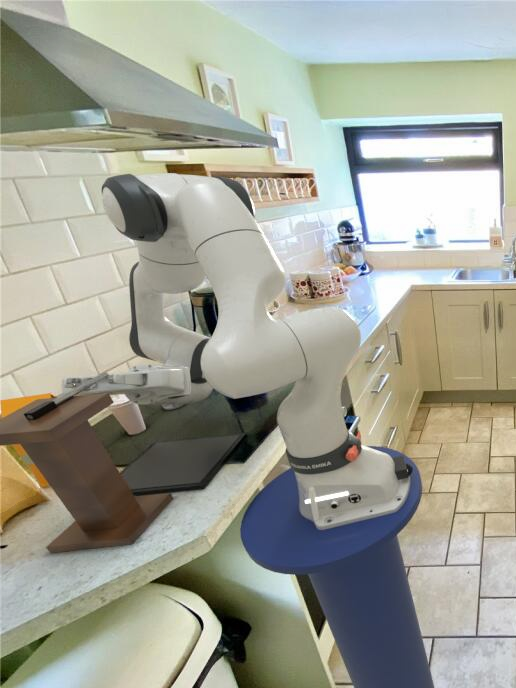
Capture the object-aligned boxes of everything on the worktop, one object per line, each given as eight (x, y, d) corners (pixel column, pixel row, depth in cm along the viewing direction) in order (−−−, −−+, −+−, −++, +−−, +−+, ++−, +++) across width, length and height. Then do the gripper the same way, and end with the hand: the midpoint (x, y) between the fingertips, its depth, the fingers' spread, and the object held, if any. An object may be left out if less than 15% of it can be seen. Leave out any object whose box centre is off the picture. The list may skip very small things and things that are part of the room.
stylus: (111, 376, 82) (108, 370, 81) (36, 419, 67) (32, 412, 67) (103, 376, 81) (100, 371, 81) (27, 420, 67) (22, 413, 67)
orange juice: (64, 466, 98) (13, 392, 89) (108, 458, 100) (63, 385, 91) (41, 487, 92) (-16, 409, 82) (89, 478, 94) (38, 401, 84)
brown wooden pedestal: (173, 498, 86) (114, 392, 75) (132, 544, 76) (56, 429, 64) (102, 505, 85) (31, 399, 74) (50, 553, 75) (-42, 438, 63)
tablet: (247, 436, 106) (246, 432, 106) (204, 489, 88) (202, 485, 88) (157, 444, 105) (155, 440, 104) (94, 500, 87) (91, 496, 86)
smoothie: (145, 422, 115) (120, 376, 109) (157, 427, 112) (132, 381, 106) (117, 434, 110) (89, 387, 104) (129, 439, 107) (101, 392, 101)
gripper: (98, 374, 91) (29, 368, 77) (196, 366, 92) (145, 359, 79) (100, 403, 91) (30, 402, 77) (198, 394, 92) (147, 392, 78)
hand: (89, 380), depth 78 cm, fingers open, 6 cm apart
